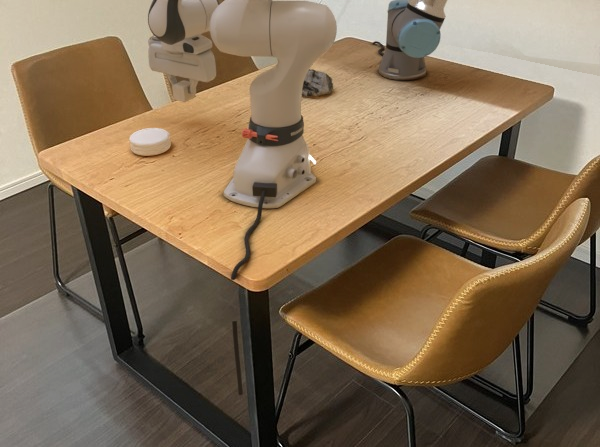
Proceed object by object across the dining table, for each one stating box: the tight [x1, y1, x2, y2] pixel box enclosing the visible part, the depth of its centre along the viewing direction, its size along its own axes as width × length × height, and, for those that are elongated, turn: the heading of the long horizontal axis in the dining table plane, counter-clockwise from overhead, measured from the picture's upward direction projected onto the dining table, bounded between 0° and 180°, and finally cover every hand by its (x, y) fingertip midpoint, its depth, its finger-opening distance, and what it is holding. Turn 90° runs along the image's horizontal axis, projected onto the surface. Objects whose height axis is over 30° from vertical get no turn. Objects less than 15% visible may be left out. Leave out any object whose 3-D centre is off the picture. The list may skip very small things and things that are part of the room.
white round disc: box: [128, 127, 172, 157], centre depth 156 cm, size 10×10×4 cm
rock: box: [302, 68, 334, 97], centre depth 188 cm, size 15×10×7 cm
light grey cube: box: [171, 79, 197, 103], centre depth 165 cm, size 4×4×4 cm
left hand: (184, 91), depth 165 cm, fingers closed on light grey cube, 4 cm apart
